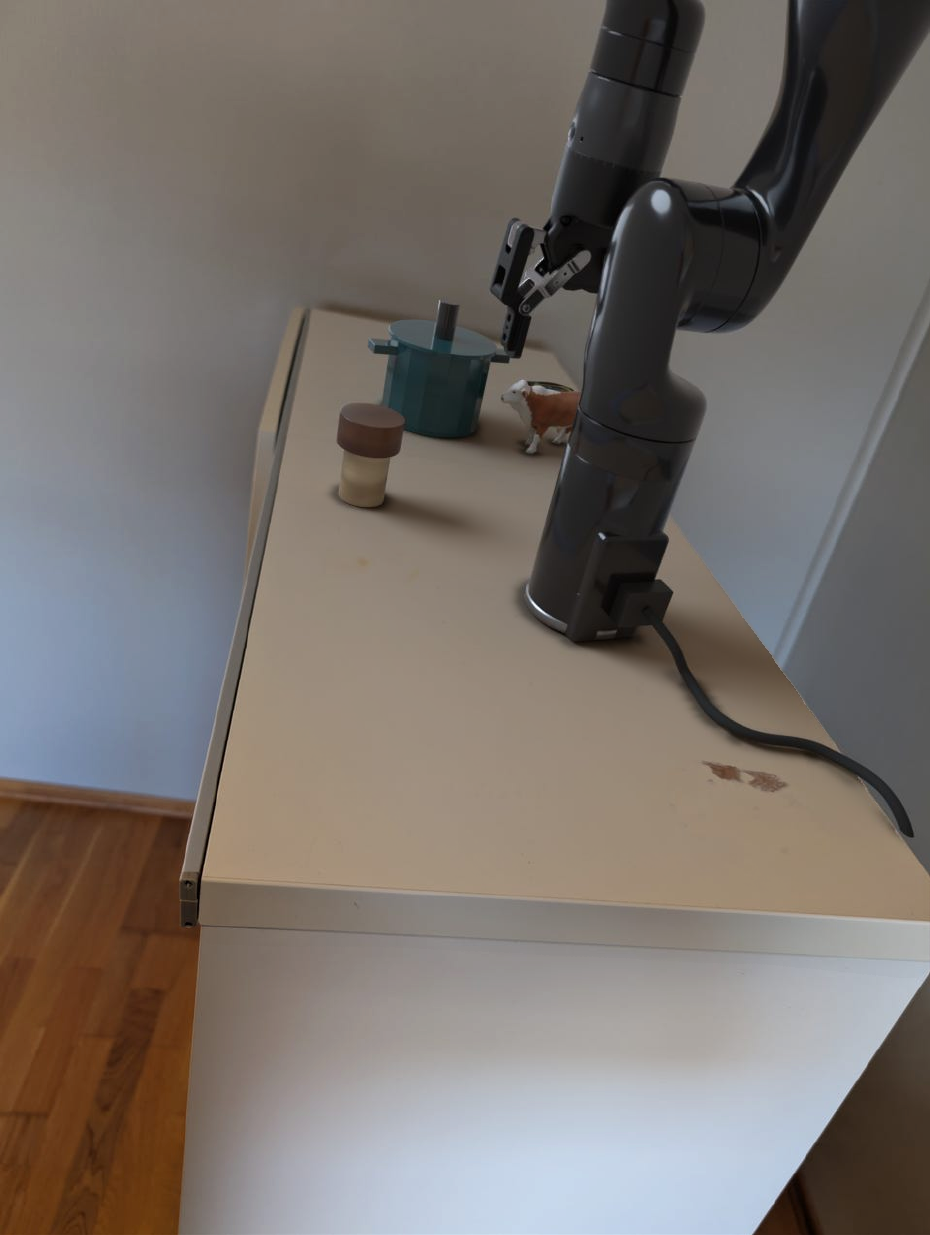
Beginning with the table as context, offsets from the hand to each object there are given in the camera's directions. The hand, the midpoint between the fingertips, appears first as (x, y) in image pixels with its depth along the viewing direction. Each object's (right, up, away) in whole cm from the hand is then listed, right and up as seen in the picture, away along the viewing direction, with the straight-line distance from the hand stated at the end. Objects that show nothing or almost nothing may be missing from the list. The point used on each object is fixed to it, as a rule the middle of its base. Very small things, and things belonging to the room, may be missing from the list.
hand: (555, 358), depth 74 cm
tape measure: (+3, +5, +42) cm, 42 cm away
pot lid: (-10, +10, +26) cm, 30 cm away
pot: (-12, +2, +31) cm, 33 cm away
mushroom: (-18, -11, +9) cm, 23 cm away
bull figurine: (+2, -2, +30) cm, 30 cm away
